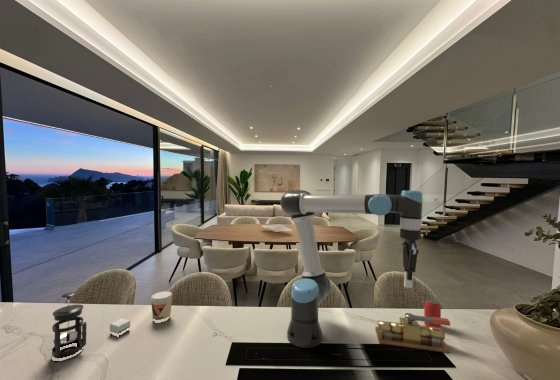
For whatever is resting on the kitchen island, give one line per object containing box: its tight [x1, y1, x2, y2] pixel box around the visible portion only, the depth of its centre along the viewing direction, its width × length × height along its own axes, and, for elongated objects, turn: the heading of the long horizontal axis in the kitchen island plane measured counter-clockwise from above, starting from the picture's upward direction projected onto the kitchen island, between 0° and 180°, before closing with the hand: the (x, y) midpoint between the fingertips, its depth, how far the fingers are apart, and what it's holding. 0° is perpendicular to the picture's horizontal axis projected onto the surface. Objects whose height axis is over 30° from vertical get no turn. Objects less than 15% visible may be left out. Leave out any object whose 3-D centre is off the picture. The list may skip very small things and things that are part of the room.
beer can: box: [423, 297, 442, 328], centre depth 115 cm, size 7×7×12 cm
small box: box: [109, 317, 131, 334], centre depth 108 cm, size 6×6×5 cm
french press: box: [51, 292, 87, 358], centre depth 94 cm, size 12×9×23 cm
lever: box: [404, 312, 451, 327], centre depth 102 cm, size 16×4×2 cm, turn 74°
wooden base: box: [374, 317, 450, 354], centre depth 104 cm, size 26×10×9 cm, turn 77°
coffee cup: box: [150, 290, 173, 320], centre depth 119 cm, size 9×9×12 cm
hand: (408, 287), depth 98 cm, fingers closed
